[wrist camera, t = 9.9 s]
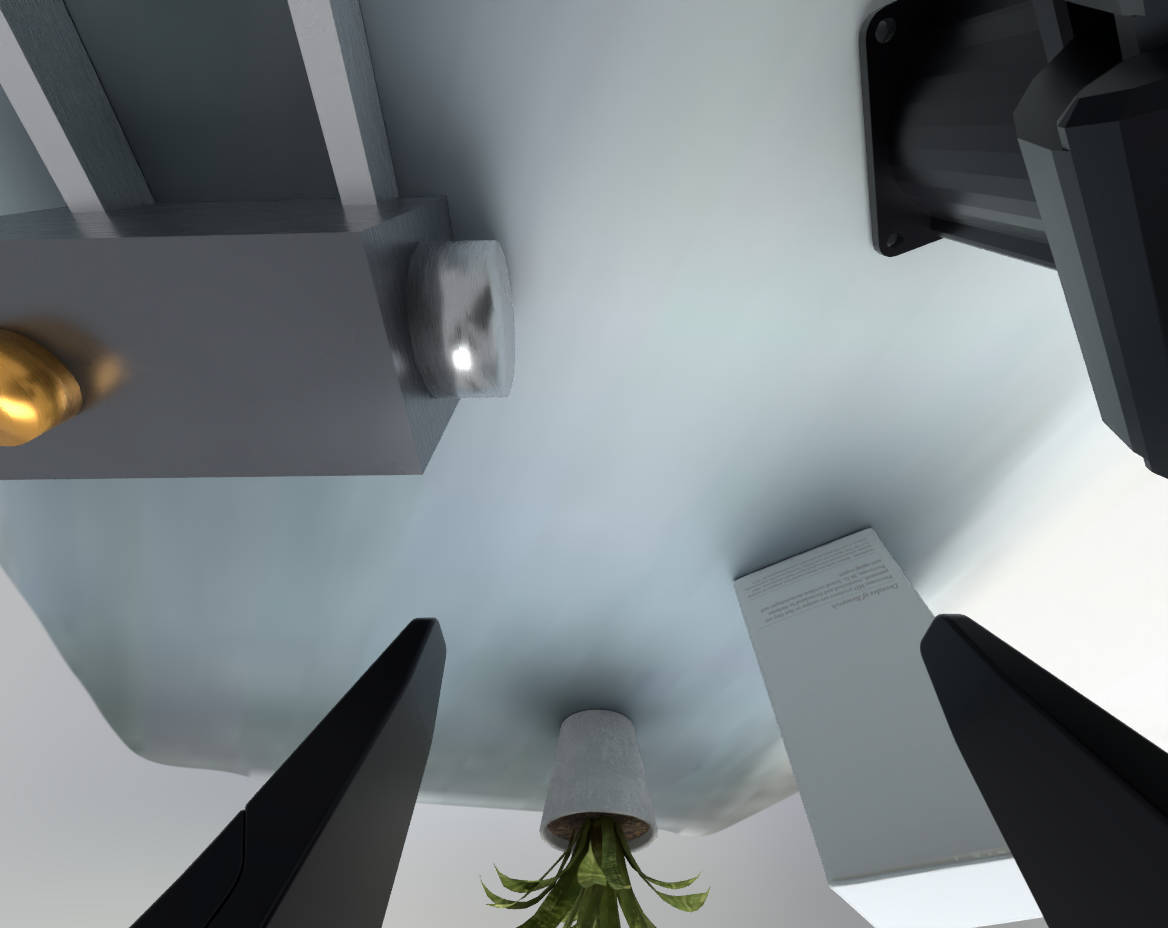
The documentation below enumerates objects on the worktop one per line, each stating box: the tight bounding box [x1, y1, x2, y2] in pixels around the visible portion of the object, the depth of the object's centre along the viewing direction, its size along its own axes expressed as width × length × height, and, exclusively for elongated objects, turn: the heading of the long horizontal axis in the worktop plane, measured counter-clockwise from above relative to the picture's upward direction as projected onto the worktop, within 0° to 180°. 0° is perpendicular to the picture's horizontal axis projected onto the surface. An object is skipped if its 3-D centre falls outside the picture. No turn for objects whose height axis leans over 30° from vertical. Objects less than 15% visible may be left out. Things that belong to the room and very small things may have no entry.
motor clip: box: [0, 0, 515, 480], centre depth 10 cm, size 14×18×8 cm
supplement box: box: [734, 528, 1043, 928], centre depth 21 cm, size 7×7×13 cm
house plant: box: [481, 710, 709, 928], centre depth 27 cm, size 14×14×16 cm
